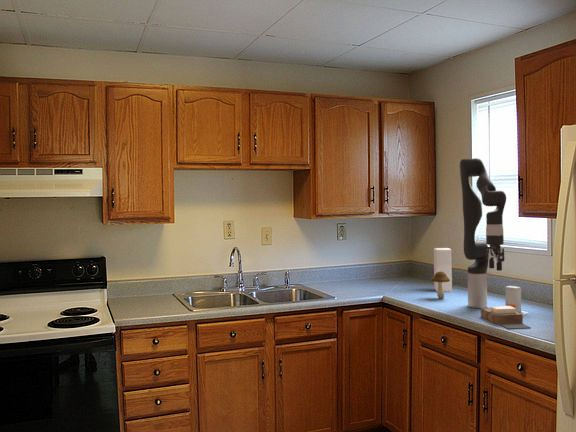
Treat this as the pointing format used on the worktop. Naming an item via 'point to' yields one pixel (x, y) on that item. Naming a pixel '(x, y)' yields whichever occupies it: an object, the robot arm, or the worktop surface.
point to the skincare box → (513, 297)
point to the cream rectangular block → (503, 309)
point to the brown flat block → (501, 317)
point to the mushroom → (440, 282)
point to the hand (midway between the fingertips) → (495, 269)
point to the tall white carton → (443, 267)
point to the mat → (514, 326)
